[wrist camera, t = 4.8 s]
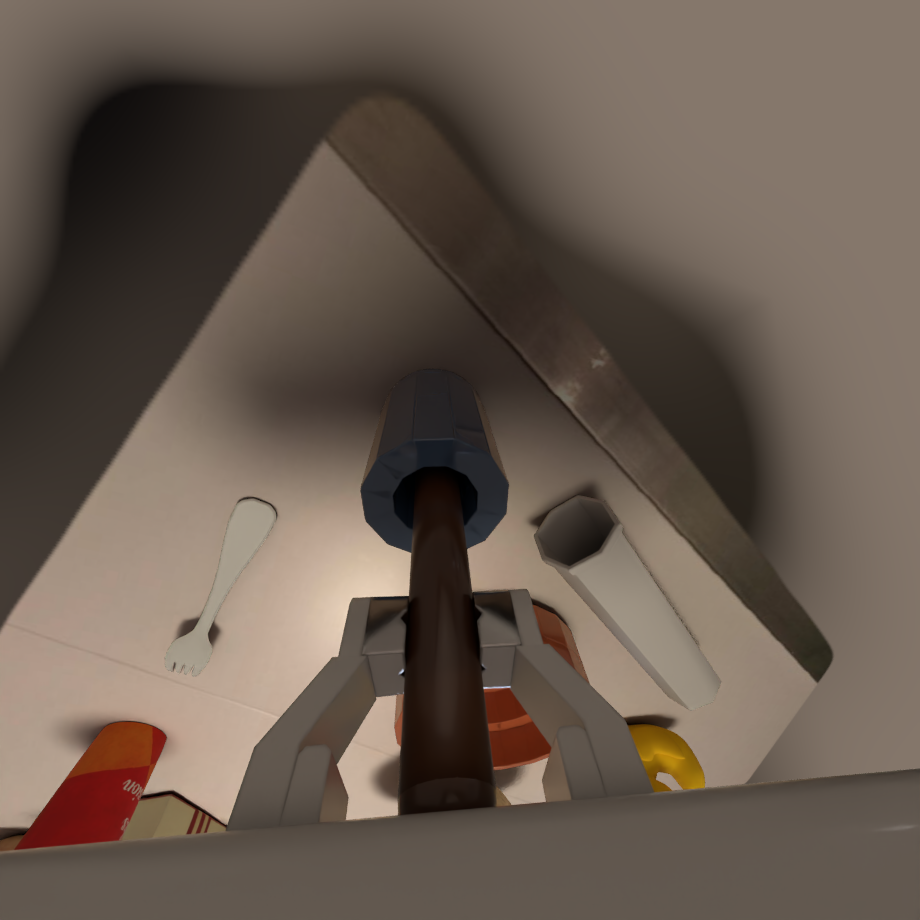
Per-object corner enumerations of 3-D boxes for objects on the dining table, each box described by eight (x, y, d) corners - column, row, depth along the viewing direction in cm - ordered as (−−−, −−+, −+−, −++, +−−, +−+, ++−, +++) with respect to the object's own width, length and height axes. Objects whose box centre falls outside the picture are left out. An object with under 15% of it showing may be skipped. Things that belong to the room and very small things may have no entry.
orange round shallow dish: (584, 589, 30) (616, 662, 25) (557, 691, 38) (578, 763, 33) (393, 600, 29) (385, 678, 24) (406, 702, 37) (403, 778, 32)
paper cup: (157, 760, 39) (37, 992, 27) (75, 740, 36) (-102, 992, 24) (194, 731, 37) (80, 971, 25) (109, 706, 33) (-69, 968, 21)
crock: (484, 367, 20) (513, 436, 13) (480, 457, 23) (503, 552, 16) (378, 369, 20) (351, 440, 13) (388, 460, 22) (371, 559, 16)
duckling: (577, 744, 44) (612, 866, 36) (581, 722, 41) (621, 848, 33) (670, 733, 44) (728, 851, 36) (681, 710, 42) (746, 832, 33)
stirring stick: (451, 406, 20) (508, 846, 6) (451, 436, 21) (501, 880, 7) (417, 407, 20) (389, 859, 6) (419, 437, 21) (398, 891, 6)
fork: (294, 490, 26) (282, 513, 23) (200, 676, 32) (183, 709, 30) (253, 474, 25) (236, 495, 22) (164, 668, 31) (144, 702, 29)
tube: (743, 691, 32) (637, 520, 21) (698, 734, 32) (566, 586, 21) (689, 644, 37) (578, 483, 25) (650, 681, 37) (520, 536, 25)
